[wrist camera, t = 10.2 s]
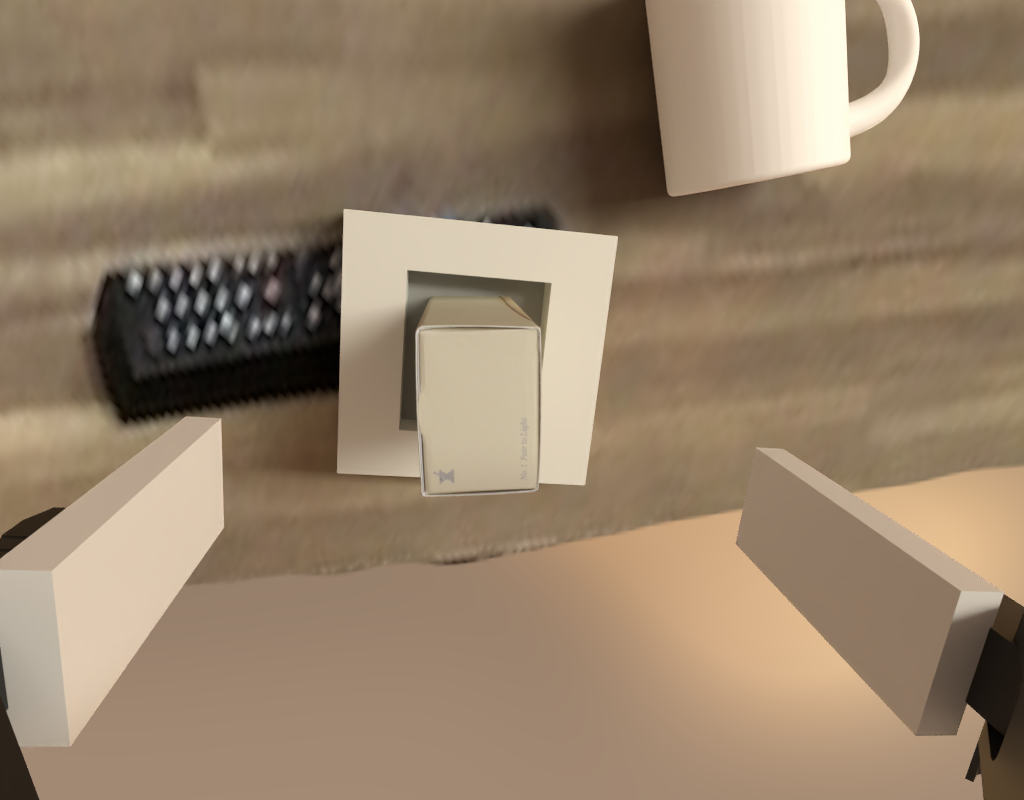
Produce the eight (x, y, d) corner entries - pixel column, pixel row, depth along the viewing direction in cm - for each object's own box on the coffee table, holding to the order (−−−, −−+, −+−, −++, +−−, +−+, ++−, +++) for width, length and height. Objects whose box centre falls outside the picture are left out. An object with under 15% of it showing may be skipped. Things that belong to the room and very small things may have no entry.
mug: (646, 200, 33) (707, 192, 26) (620, -11, 30) (679, -92, 23) (861, 157, 34) (984, 136, 26) (854, -54, 31) (989, -147, 23)
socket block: (345, 453, 35) (336, 473, 32) (352, 210, 32) (343, 208, 29) (573, 464, 37) (584, 485, 34) (602, 235, 33) (618, 236, 30)
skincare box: (509, 407, 34) (543, 499, 23) (427, 409, 34) (419, 504, 22) (510, 290, 33) (548, 325, 21) (424, 290, 32) (413, 326, 20)
